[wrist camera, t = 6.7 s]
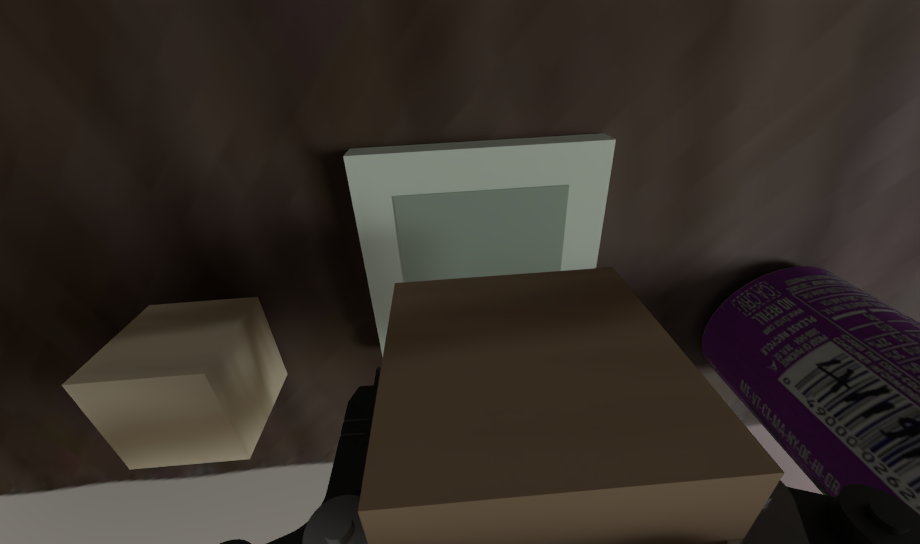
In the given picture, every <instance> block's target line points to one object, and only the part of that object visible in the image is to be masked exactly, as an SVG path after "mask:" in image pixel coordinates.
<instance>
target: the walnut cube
mask: <svg viewBox="0 0 920 544" xmlns="http://www.w3.org/2000/svg"><path fill="white" fill-rule="evenodd" d="M783 474H784V472H783V470H782V469H781V468H780V467H779V466H778V465H777V463H776V462H775V461H774V460H773V459H772V457H771V456H770V455H769V454H768V453H767V451H766V450H765V449H764V448H763V447H762V445H761V444H760V443H759V442H758V441H757V439H756V438H755V437H754V436H753V435H752V433H751V432H750V431H749V430H748V429H747V427H746V426H745V425H744V424H743V423H742V421H741V420H740V419H739V418H738V417H737V416H736V414H735V413H734V412H733V411H732V410H731V408H730V407H729V406H728V405H727V404H726V402H725V401H724V400H723V399H722V398H721V396H720V395H719V394H718V393H717V392H716V390H715V389H714V388H713V387H712V386H711V384H710V383H709V382H708V381H707V380H706V378H705V377H704V376H703V375H702V374H701V373H700V371H699V370H698V369H697V368H696V367H695V365H694V364H693V363H692V362H691V361H690V359H689V358H688V357H687V356H686V355H685V353H684V352H683V351H682V350H681V349H680V347H679V346H678V345H677V344H676V343H675V341H674V340H673V339H672V338H671V337H670V336H669V334H668V333H667V332H666V331H665V330H664V328H663V327H662V326H661V325H660V324H659V322H658V321H657V320H656V319H655V318H654V316H653V315H652V314H651V313H650V312H649V310H648V309H647V308H646V307H645V306H644V304H643V303H642V302H641V301H640V300H639V299H638V297H637V296H636V295H635V294H634V293H633V291H632V290H631V289H630V288H629V287H628V285H627V284H626V283H625V282H624V281H623V279H622V278H621V277H620V276H619V275H618V273H617V272H616V271H615V270H614V269H613V267H607V268H593V269H580V270H566V271H552V272H539V273H525V274H511V275H498V276H484V277H470V278H457V279H443V280H429V281H416V282H402V283H395V285H394V291H393V297H392V303H391V310H390V316H389V322H388V328H387V334H386V340H385V347H384V353H383V359H382V365H381V371H380V378H379V384H378V390H377V396H376V402H375V408H374V415H373V421H372V427H371V433H370V439H369V445H368V452H367V458H366V464H365V470H364V476H363V482H362V489H361V495H360V501H359V507H358V514H359V517H360V520H361V523H362V526H363V529H364V532H365V535H366V538H367V542H368V544H725V542H726V540H727V539H738V538H744V537H745V536H746V534H747V533H748V531H749V529H750V528H751V526H752V525H753V523H754V521H755V520H756V518H757V516H758V515H759V513H760V512H761V510H762V508H763V507H764V505H765V503H766V502H767V500H768V499H769V497H770V495H771V494H772V492H773V490H774V489H775V487H776V486H777V484H778V482H779V481H780V479H781V477H782V476H783Z"/></svg>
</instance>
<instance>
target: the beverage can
mask: <svg viewBox="0 0 920 544" xmlns="http://www.w3.org/2000/svg"><path fill="white" fill-rule="evenodd" d="M702 351H703V355H704V357H705V359H706V361H707V362H708V363H709V365H710V366H711V367H712V368H713V369H714V370H715V371H716V373H717V374H718V375H719V376H720V377H721V378H722V379H723V381H724V382H725V383H726V384H727V385H728V386H729V387H730V389H731V390H732V391H733V392H734V393H735V394H736V395H737V397H738V398H739V399H740V400H741V401H742V402H743V403H744V405H745V406H746V407H747V408H748V409H749V410H750V411H751V412H752V414H753V415H754V416H755V417H756V418H757V419H758V420H759V422H760V423H761V424H762V425H763V426H764V427H765V428H766V430H767V431H768V432H769V433H770V434H771V435H772V436H773V438H774V439H775V440H776V441H777V442H778V443H779V444H780V446H781V447H782V448H783V449H784V450H785V451H786V452H787V454H788V455H789V456H790V457H791V458H792V459H793V460H794V461H795V463H796V464H797V465H798V466H799V467H800V468H801V469H802V470H803V472H804V473H805V474H806V475H807V476H808V477H809V479H810V480H811V481H812V482H813V483H814V484H815V485H816V487H817V488H818V489H819V490H820V491H821V492H822V493H823V495H827V496H832V497H835V496H836V495H837V494H838V492H839V491H840V490H841V489H842V488H843V487H844V486H847V485H850V484H862V485H867V486H871V487H874V488H877V489H880V490H882V491H884V492H887V493H889V494H891V495H892V496H894V497H896V498H898V499H899V500H901V501H902V502H904V503H906V504H907V505H908V506H910V507H911V508H912V509H913V510H915V511H916V512H917V513H918V514H920V323H919V322H917V321H915V320H913V319H912V318H910V317H908V316H906V315H905V314H903V313H901V312H899V311H898V310H896V309H894V308H892V307H890V306H889V305H887V304H885V303H883V302H882V301H880V300H878V299H876V298H875V297H873V296H871V295H869V294H868V293H866V292H864V291H862V290H861V289H859V288H857V287H855V286H853V285H852V284H850V283H848V282H846V281H845V280H843V279H841V278H839V277H838V276H836V275H834V274H832V273H831V272H829V271H827V270H824V269H821V268H817V267H809V266H799V267H790V268H785V269H781V270H777V271H774V272H771V273H768V274H765V275H763V276H761V277H759V278H757V279H755V280H753V281H751V282H749V283H747V284H746V285H744V286H743V287H741V288H740V289H738V290H737V291H736V292H734V293H733V294H732V295H731V296H730V297H728V298H727V299H726V300H725V301H724V302H723V303H722V304H721V305H720V306H719V307H718V309H717V310H716V311H715V312H714V314H713V315H712V317H711V318H710V320H709V322H708V324H707V326H706V328H705V330H704V334H703V338H702Z"/></svg>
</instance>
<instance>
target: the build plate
mask: <svg viewBox="0 0 920 544" xmlns="http://www.w3.org/2000/svg"><path fill="white" fill-rule="evenodd" d="M615 141H616V139H614V138H612V137H610V136H608V135H606V134H604V133H601V134H584V135H568V136H551V137H535V138H518V139H502V140H485V141H469V142H452V143H436V144H419V145H403V146H386V147H369V148H353V149H349V150H348V151H347V152H346V153H345V155H344V156H343V158H344V163H345V168H346V173H347V178H348V183H349V189H350V194H351V199H352V204H353V209H354V214H355V219H356V224H357V229H358V234H359V239H360V245H361V250H362V255H363V260H364V265H365V270H366V275H367V280H368V285H369V290H370V295H371V301H372V306H373V311H374V316H375V321H376V326H377V331H378V336H379V341H380V346H381V351H382V356H383V353H384V347H385V340H386V334H387V328H388V322H389V316H390V310H391V303H392V297H393V291H394V285H395V283H402V282H416V281H429V280H443V279H457V278H470V277H484V276H498V275H511V274H525V273H539V272H552V271H566V270H580V269H593V268H596V265H597V258H598V252H599V245H600V239H601V232H602V226H603V219H604V213H605V206H606V200H607V193H608V187H609V180H610V174H611V167H612V161H613V154H614V148H615Z"/></svg>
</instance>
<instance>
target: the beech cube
mask: <svg viewBox="0 0 920 544" xmlns="http://www.w3.org/2000/svg"><path fill="white" fill-rule="evenodd" d="M286 376H287V372H286V369H285V366H284V364H283V361H282V359H281V356H280V353H279V351H278V348H277V346H276V343H275V340H274V338H273V335H272V333H271V330H270V327H269V325H268V322H267V319H266V317H265V314H264V312H263V309H262V306H261V304H260V301H259V299H258V297H250V298H237V299H224V300H211V301H198V302H185V303H172V304H159V305H149V306H148V307H147V308H146V309H145V310H144V311H142V312H141V313H140V314H139V315H138V316H137V317H136V318H135V319H134V320H133V321H131V322H130V323H129V324H128V325H127V326H126V327H125V328H124V329H123V330H122V331H120V332H119V333H118V334H117V335H116V336H115V337H114V338H113V339H112V340H111V341H110V342H108V343H107V344H106V345H105V346H104V347H103V348H102V349H101V350H100V351H99V352H97V353H96V354H95V355H94V356H93V357H92V358H91V359H90V360H89V361H88V362H86V363H85V364H84V365H83V366H82V367H81V368H80V369H79V370H78V371H77V372H75V373H74V374H73V375H72V376H71V377H70V378H69V379H68V380H67V381H66V382H64V383H63V384H62V386H63V388H64V389H65V390H66V391H67V392H68V394H69V395H70V396H71V397H72V399H73V400H74V401H75V402H76V404H77V405H78V406H79V407H80V409H81V410H82V411H83V412H84V413H85V415H86V416H87V417H88V418H89V420H90V421H91V422H92V423H93V425H94V426H95V427H96V428H97V429H98V431H99V432H100V433H101V434H102V436H103V437H104V438H105V439H106V441H107V442H108V443H109V444H110V446H111V447H112V448H113V449H114V450H115V452H116V453H117V454H118V455H119V457H120V458H121V459H122V460H123V462H124V463H125V464H126V465H127V466H128V468H129V469H141V468H152V467H164V466H175V465H187V464H198V463H210V462H221V461H233V460H244V459H250V457H251V455H252V453H253V451H254V448H255V446H256V444H257V442H258V439H259V437H260V435H261V433H262V430H263V428H264V426H265V424H266V421H267V419H268V417H269V415H270V412H271V410H272V408H273V406H274V403H275V401H276V399H277V397H278V394H279V392H280V390H281V388H282V385H283V383H284V381H285V379H286Z"/></svg>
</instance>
